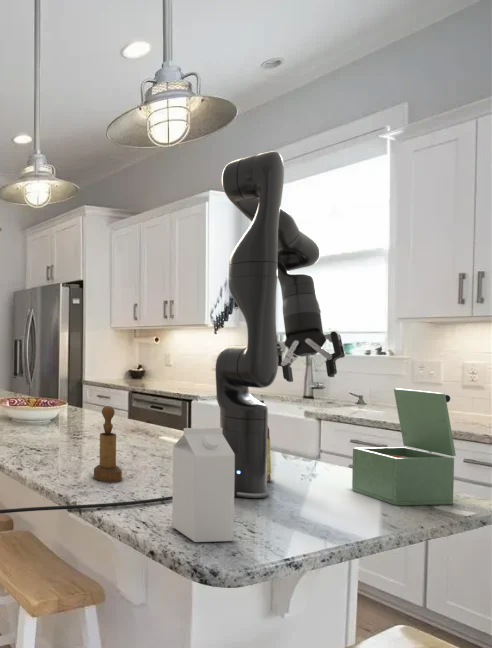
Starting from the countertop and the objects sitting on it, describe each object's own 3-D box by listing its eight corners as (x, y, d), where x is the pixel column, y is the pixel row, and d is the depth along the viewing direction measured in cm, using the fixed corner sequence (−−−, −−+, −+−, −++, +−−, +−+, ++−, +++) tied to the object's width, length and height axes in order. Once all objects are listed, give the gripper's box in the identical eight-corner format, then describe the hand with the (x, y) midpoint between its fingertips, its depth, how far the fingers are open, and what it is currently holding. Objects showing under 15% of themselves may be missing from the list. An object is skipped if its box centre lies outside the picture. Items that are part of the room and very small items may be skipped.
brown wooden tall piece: (95, 481, 122) (96, 407, 122) (92, 474, 129) (92, 404, 128) (124, 482, 121) (124, 408, 121) (119, 475, 127) (119, 405, 127)
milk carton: (171, 527, 92) (172, 424, 92) (208, 526, 93) (209, 424, 92) (194, 543, 85) (195, 432, 85) (234, 541, 86) (235, 431, 85)
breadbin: (396, 505, 104) (397, 458, 104) (351, 490, 115) (352, 447, 115) (453, 504, 105) (454, 457, 105) (404, 489, 116) (404, 446, 115)
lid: (442, 393, 104) (462, 389, 104) (393, 388, 115) (412, 384, 115) (452, 456, 105) (473, 451, 105) (403, 445, 115) (422, 441, 116)
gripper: (263, 318, 129) (270, 380, 124) (329, 304, 117) (340, 371, 113) (276, 325, 133) (283, 385, 128) (341, 312, 121) (352, 377, 117)
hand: (310, 379), depth 121 cm, fingers open, 8 cm apart
